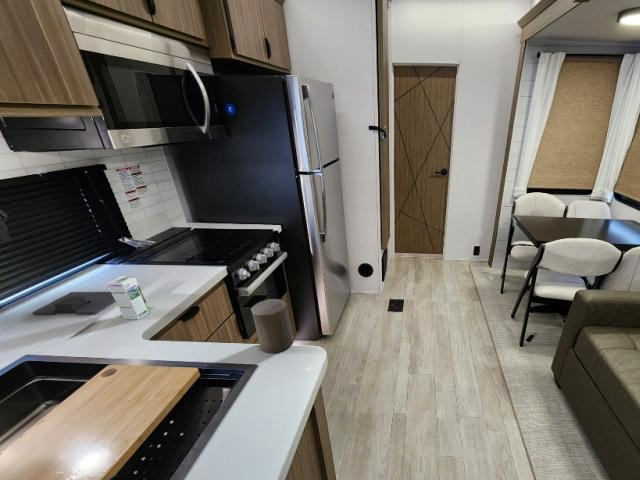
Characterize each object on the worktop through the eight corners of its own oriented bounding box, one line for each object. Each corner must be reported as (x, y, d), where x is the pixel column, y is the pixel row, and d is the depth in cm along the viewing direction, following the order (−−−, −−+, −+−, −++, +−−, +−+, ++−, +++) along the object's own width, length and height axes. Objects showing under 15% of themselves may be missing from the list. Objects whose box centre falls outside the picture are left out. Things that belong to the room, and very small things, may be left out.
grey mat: (35, 318, 119) (32, 312, 118) (73, 297, 133) (70, 292, 132) (96, 317, 119) (93, 311, 118) (128, 296, 133) (125, 291, 132)
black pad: (60, 316, 120) (53, 304, 118) (74, 308, 125) (68, 296, 123) (77, 316, 120) (70, 304, 118) (90, 308, 125) (84, 296, 123)
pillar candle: (295, 348, 102) (286, 306, 94) (261, 357, 98) (250, 313, 91) (291, 332, 109) (283, 292, 102) (259, 339, 106) (249, 298, 99)
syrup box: (138, 320, 118) (122, 283, 111) (123, 319, 118) (106, 282, 111) (150, 311, 123) (135, 276, 116) (136, 311, 123) (120, 275, 116)
